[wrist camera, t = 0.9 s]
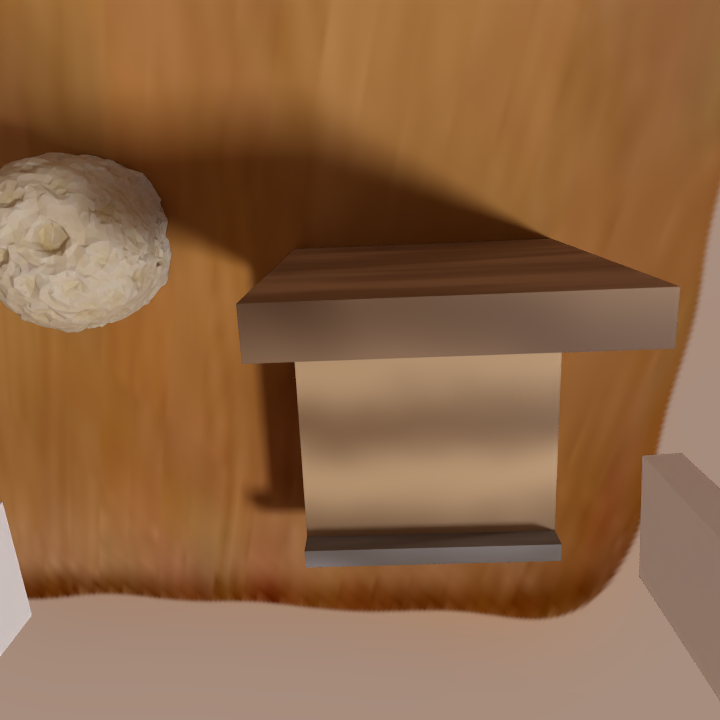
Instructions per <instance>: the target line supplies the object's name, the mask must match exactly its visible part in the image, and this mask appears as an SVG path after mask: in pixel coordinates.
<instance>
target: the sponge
mask: <svg viewBox="0 0 720 720" xmlns="http://www.w3.org/2000/svg"><path fill="white" fill-rule="evenodd" d="M160 202H161V199H160V197H159V196H158V194H157V192H156V190H155V189H154V188H153V186H152V183H151V182H150V181H149V180H148V179H147V178H146V176H145V175H144V174H143V173H142V172H139V171H134V170H131V169H128V168H125V167H123V166H122V165H121V164H116V162H115V161H113V160H110V159H101V158H100V157H97V156H93V155H86V154H85V155H83V154H81V155H72V154H68V153H67V154H65V153H61V152H57V153H45V154H42V155H39V156H35V157H30V158H24V159H20V160H17V161H11V162H9V163H8V164H6V165H4V166H3V167H2V168H1V169H0V300H1V301H2V302H3V303H4V304H5V305H6V306H7V307H8V308H9V309H11V310H12V311H13V312H15V313H17V314H18V315H19V316H20V317H21V319H22V320H25V321H29V322H31V323H34V324H37V325H40V326H44V327H50V328H53V329H54V328H55V329H59V330H61V331H64V332H67V333H69V332H80V331H82V330H84V329H86V328H88V329H89V328H95V327H97V326H101V327H103V326H104V325H106V324H107V323H113V322H115V321H118V320H121V319H124V318H126V317H128V316H129V315H131V314H132V313H134V312H136V311H138V310H139V309H140V308H141V307H142V306H144V305H145V304H149V302H150V300H151V299H152V298H153V297H154V295H155V294H156V293H157V292H158V290H159V289H160V287H162V286H164V285H165V284H166V282H167V279H168V269H169V267H170V259H171V254H172V251H171V250H170V244H169V240H168V239H167V238H166V229H167V224H168V220H167V218H166V216H165V215H164V212H163V208H162V206H161V204H160Z"/></svg>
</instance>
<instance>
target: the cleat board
mask: <svg viewBox="0 0 720 720" xmlns="http://www.w3.org/2000/svg"><path fill="white" fill-rule="evenodd" d="M679 295H680V286H677V285H674V284H672V283H669V282H666V281H663V280H661V279H658V278H655V277H653V276H650V275H647V274H645V273H642V272H639V271H637V270H634V269H631V268H629V267H626V266H623V265H621V264H618V263H615V262H612V261H610V260H607V259H604V258H602V257H599V256H596V255H594V254H591V253H588V252H586V251H583V250H580V249H578V248H575V247H572V246H570V245H567V244H564V243H561V242H559V241H556V240H553V239H551V238H549V239H524V240H500V241H476V242H451V243H427V244H402V245H378V246H354V247H329V248H305V249H293V250H292V251H291V252H290V253H289V254H288V255H287V256H286V257H285V258H284V259H283V260H282V261H281V262H280V263H279V264H278V265H277V266H275V267H274V268H273V269H272V270H271V271H270V272H269V273H268V274H267V275H266V276H265V277H264V278H263V279H262V280H261V281H260V282H259V283H258V284H257V285H256V286H254V287H253V288H252V289H251V290H250V291H249V292H248V293H247V294H246V295H245V296H244V297H243V298H242V299H241V300H240V301H239V302H238V303H237V304H236V307H237V317H238V328H239V339H240V349H241V360H242V364H254V363H282V362H295V373H296V387H297V401H298V415H299V429H300V443H301V457H302V471H303V485H304V499H305V513H306V526H307V541H306V547H305V563H306V567H338V566H376V565H414V564H452V563H490V562H528V561H561V549H562V544H561V542H560V540H559V538H558V536H557V534H556V532H555V505H556V480H557V454H558V429H559V403H560V378H561V353H562V352H590V351H618V350H646V349H674V348H675V341H676V329H677V318H678V306H679Z"/></svg>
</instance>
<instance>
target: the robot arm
mask: <svg viewBox="0 0 720 720" xmlns="http://www.w3.org/2000/svg"><path fill="white" fill-rule="evenodd" d="M639 577H640V578H641V579H642V581H643V583H644V584H645V586H646V588H647V589H648V591H649V592H650V594H651V595H652V597H653V598H654V600H655V601H656V603H657V605H658V606H659V608H660V609H661V611H662V612H663V614H664V615H665V617H666V618H667V620H668V622H669V623H670V625H671V626H672V628H673V629H674V631H675V632H676V634H677V635H678V637H679V639H680V640H681V641H682V643H683V644H684V646H685V648H686V649H687V651H688V652H689V654H690V655H691V657H692V659H693V660H694V662H695V663H696V665H697V666H698V668H699V669H700V671H701V672H702V674H703V675H704V677H705V679H706V680H707V682H708V683H709V685H710V686H711V688H712V689H713V691H714V693H715V694H716V696H717V697H718V699H719V700H720V488H719V487H718V486H717V485H716V484H715V483H713V482H712V481H711V480H710V479H709V478H708V477H707V476H706V475H705V474H704V473H703V472H701V470H699V469H698V468H697V467H696V466H695V465H694V464H693V463H692V462H691V461H690V460H689V459H688V458H687V457H685V456H684V455H683V454H682V453H675V454H663V455H662V454H661V455H647V456H643V458H642V494H641V530H640V566H639ZM31 616H32V614H31V610H30V606H29V603H28V599H27V595H26V591H25V587H24V583H23V579H22V576H21V572H20V568H19V564H18V560H17V556H16V553H15V549H14V545H13V541H12V537H11V533H10V529H9V526H8V522H7V518H6V514H5V510H4V506H3V502H0V656H1V655H2V653H3V652H4V651H5V649H6V648H7V647H8V646H9V644H10V643H11V641H12V640H13V639H14V638H15V636H16V635H17V634H18V632H19V631H20V630H21V629H22V627H23V626H24V625H25V623H26V622H27V621H28V619H29V618H30V617H31Z"/></svg>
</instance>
